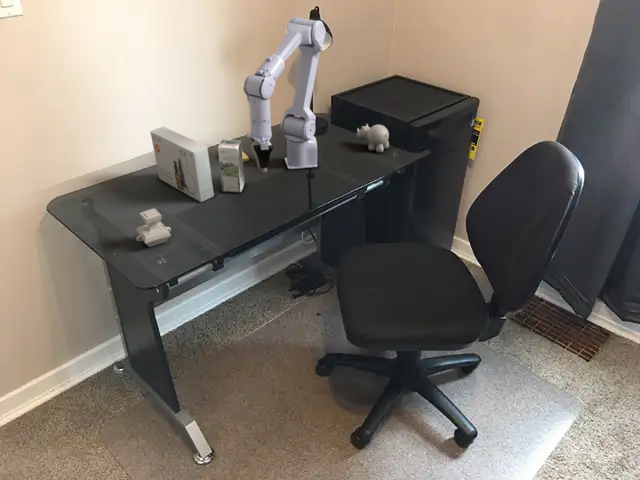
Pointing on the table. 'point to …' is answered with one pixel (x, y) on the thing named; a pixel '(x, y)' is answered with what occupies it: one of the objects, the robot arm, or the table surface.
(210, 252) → the table surface
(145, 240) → the stamp
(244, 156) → the sticky note pad
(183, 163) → the skincare box
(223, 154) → the syrup box
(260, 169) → the lightbulb
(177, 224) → the table surface
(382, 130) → the toy rhinoceros
